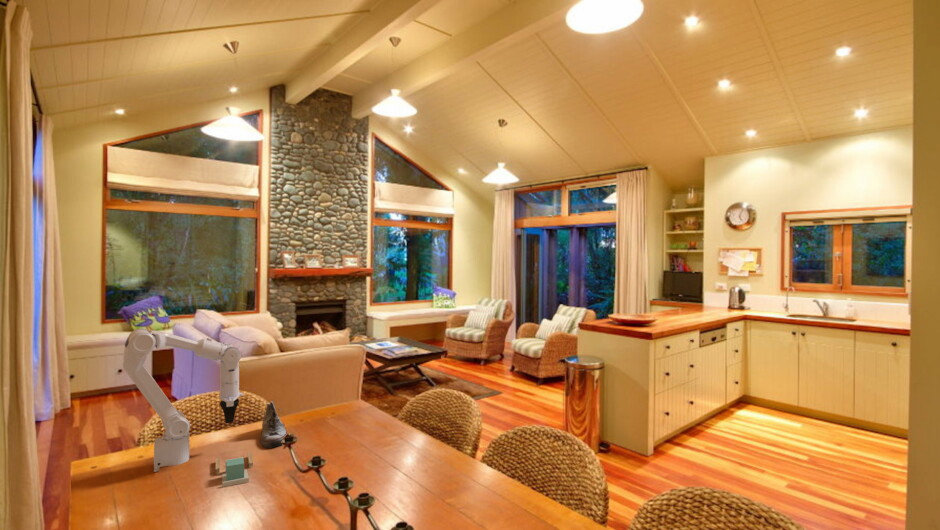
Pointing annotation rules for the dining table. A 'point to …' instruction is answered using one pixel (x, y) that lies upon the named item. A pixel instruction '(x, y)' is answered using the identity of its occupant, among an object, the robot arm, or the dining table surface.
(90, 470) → the dining table surface
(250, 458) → the channel
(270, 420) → the shoe
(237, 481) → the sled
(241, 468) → the block
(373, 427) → the dining table surface
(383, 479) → the dining table surface
